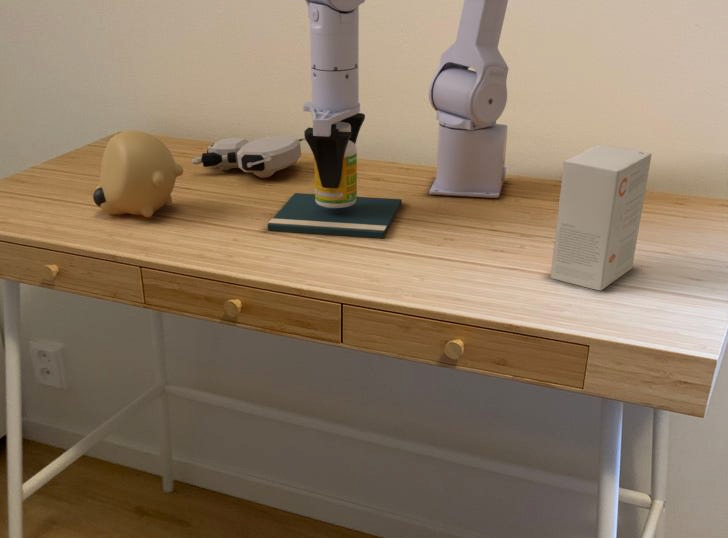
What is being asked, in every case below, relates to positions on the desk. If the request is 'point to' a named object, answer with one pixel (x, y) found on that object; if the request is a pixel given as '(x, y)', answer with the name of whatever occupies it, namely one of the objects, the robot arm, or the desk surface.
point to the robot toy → (253, 154)
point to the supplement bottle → (348, 183)
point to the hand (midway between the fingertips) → (336, 180)
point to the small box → (599, 215)
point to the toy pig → (136, 175)
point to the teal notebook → (336, 217)
